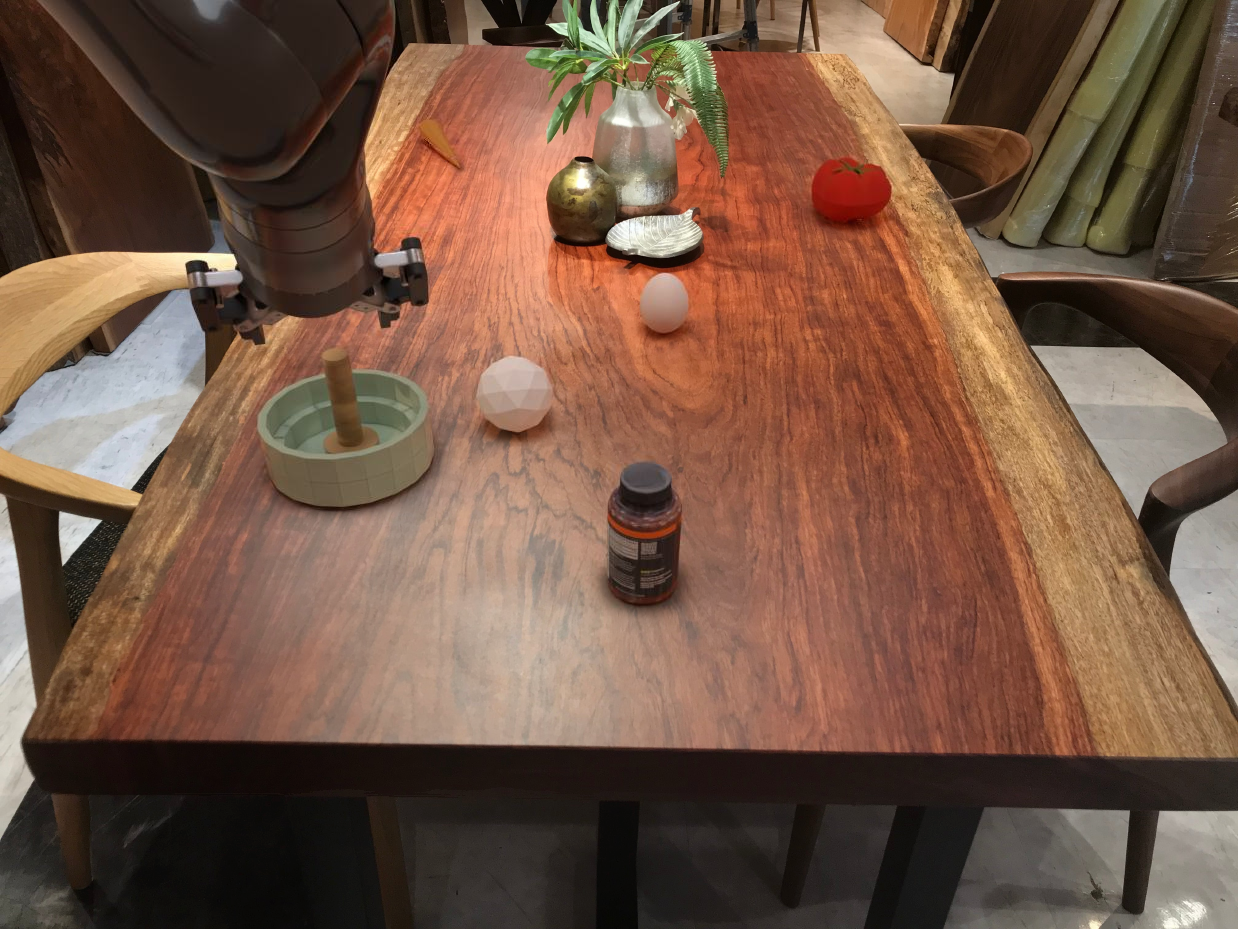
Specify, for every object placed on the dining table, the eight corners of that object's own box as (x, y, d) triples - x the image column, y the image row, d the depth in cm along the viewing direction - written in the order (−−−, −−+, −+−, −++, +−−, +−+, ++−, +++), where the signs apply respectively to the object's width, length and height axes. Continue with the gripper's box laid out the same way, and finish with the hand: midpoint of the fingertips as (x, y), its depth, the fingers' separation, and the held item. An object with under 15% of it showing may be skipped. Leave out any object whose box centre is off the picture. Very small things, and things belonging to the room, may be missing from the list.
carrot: (422, 143, 174) (411, 122, 171) (442, 132, 175) (432, 111, 171) (455, 185, 161) (444, 163, 158) (476, 173, 162) (466, 151, 158)
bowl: (235, 489, 84) (220, 436, 81) (332, 406, 96) (322, 357, 93) (379, 528, 80) (370, 474, 77) (461, 436, 92) (457, 386, 89)
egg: (681, 318, 115) (685, 262, 110) (691, 340, 110) (696, 283, 106) (634, 320, 114) (636, 264, 109) (643, 343, 109) (645, 286, 105)
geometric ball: (508, 456, 94) (464, 421, 88) (500, 396, 98) (458, 359, 92) (570, 428, 92) (530, 391, 86) (560, 368, 96) (521, 328, 90)
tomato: (896, 234, 140) (907, 178, 135) (815, 232, 140) (824, 176, 134) (875, 203, 151) (885, 150, 146) (801, 201, 151) (809, 148, 146)
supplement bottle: (648, 549, 79) (653, 444, 72) (691, 589, 75) (701, 481, 68) (592, 576, 76) (593, 469, 69) (634, 618, 72) (639, 509, 65)
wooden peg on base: (315, 465, 86) (293, 361, 80) (346, 437, 90) (327, 336, 84) (362, 477, 85) (343, 372, 78) (391, 448, 89) (375, 346, 82)
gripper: (421, 150, 50) (412, 262, 66) (144, 171, 46) (205, 285, 62) (447, 275, 49) (432, 359, 65) (167, 308, 45) (222, 389, 61)
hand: (321, 323), depth 63 cm, fingers open, 8 cm apart
